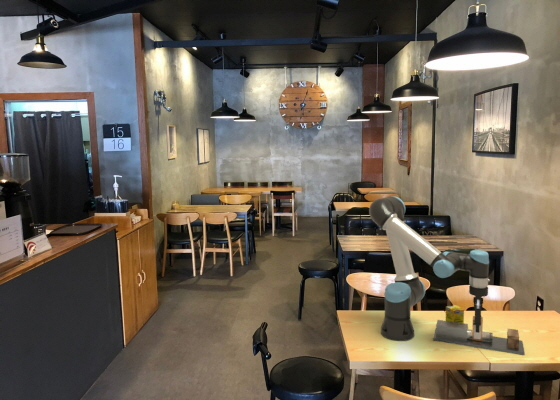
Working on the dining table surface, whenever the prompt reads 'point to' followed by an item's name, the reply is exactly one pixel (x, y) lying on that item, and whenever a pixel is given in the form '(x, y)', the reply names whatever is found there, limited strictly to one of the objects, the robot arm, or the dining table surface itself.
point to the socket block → (513, 338)
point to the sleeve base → (458, 335)
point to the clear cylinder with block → (484, 335)
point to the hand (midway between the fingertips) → (477, 336)
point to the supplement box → (455, 314)
